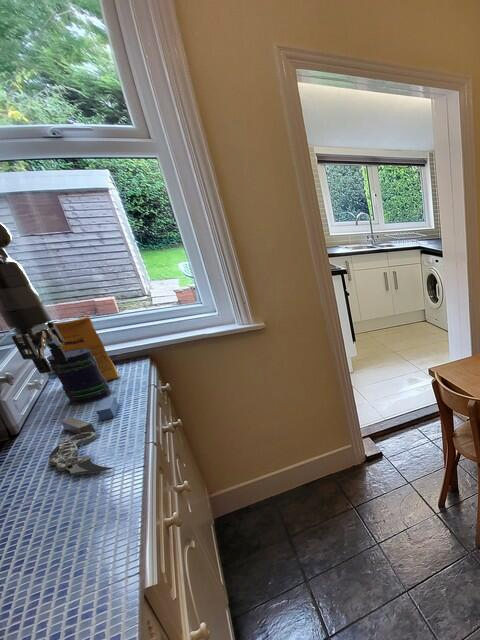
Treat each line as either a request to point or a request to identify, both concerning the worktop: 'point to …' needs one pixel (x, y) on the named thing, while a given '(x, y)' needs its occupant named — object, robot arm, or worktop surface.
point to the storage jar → (80, 376)
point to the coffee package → (87, 344)
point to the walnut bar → (77, 426)
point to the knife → (68, 461)
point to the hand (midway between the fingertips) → (54, 366)
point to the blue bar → (107, 408)
